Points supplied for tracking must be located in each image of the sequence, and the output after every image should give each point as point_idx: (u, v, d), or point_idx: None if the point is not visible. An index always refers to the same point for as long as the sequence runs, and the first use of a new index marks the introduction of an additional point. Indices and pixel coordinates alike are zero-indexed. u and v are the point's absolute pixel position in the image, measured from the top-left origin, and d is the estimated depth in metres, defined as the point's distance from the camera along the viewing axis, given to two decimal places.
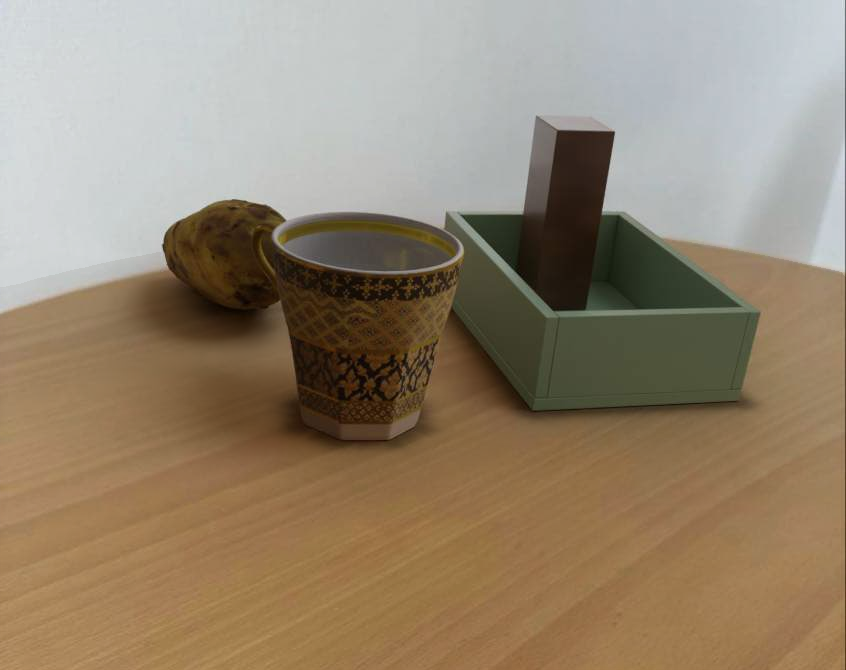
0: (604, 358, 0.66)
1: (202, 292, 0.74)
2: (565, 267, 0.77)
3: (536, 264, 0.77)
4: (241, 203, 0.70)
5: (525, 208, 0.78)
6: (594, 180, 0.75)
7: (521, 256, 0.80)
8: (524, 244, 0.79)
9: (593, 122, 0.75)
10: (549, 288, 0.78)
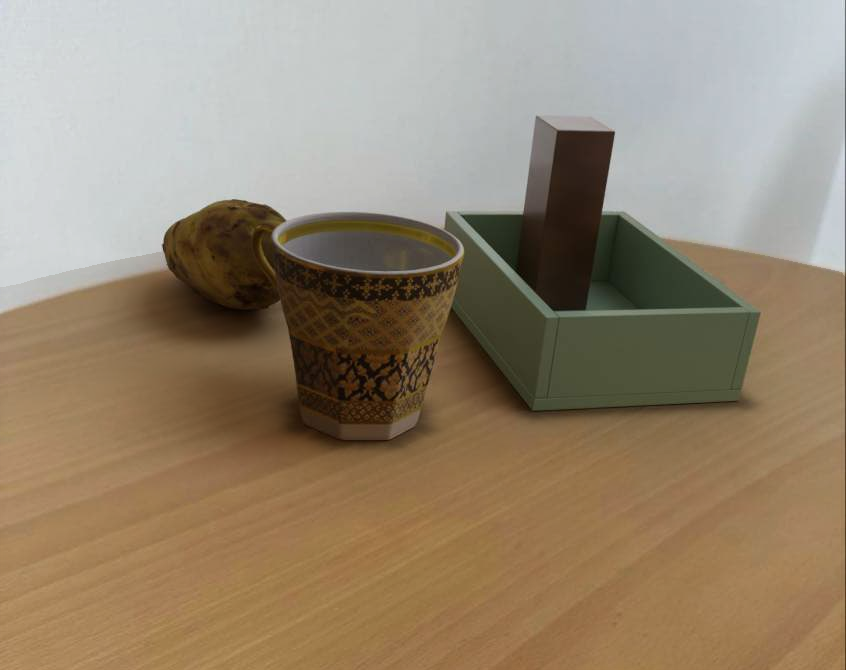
0: (604, 358, 0.66)
1: (202, 292, 0.74)
2: (565, 267, 0.77)
3: (536, 264, 0.77)
4: (241, 203, 0.70)
5: (525, 208, 0.78)
6: (594, 180, 0.75)
7: (521, 256, 0.80)
8: (524, 244, 0.79)
9: (593, 122, 0.75)
10: (549, 288, 0.78)
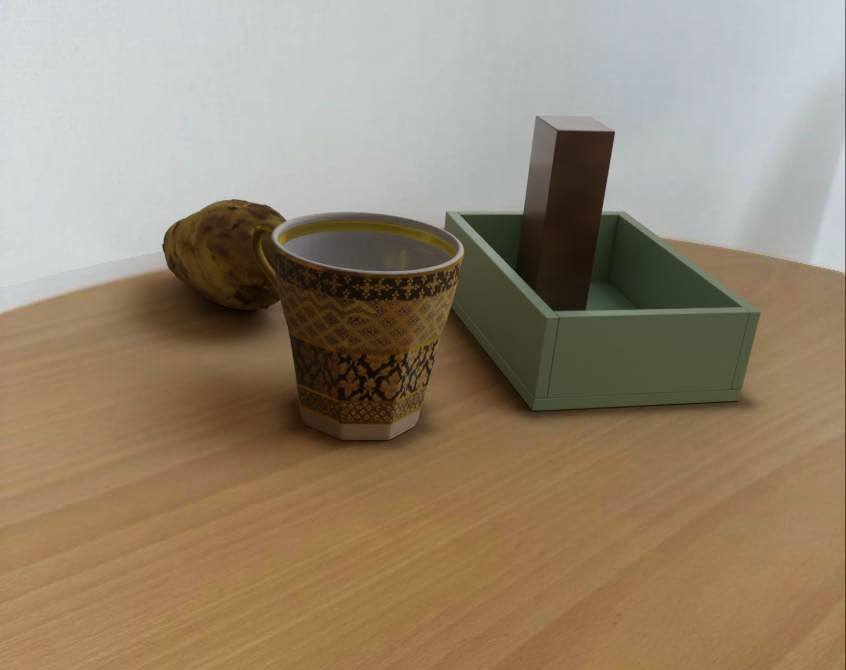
0: (604, 358, 0.66)
1: (202, 292, 0.74)
2: (565, 267, 0.77)
3: (536, 264, 0.77)
4: (241, 203, 0.70)
5: (525, 208, 0.78)
6: (594, 180, 0.75)
7: (521, 256, 0.80)
8: (524, 244, 0.79)
9: (593, 122, 0.75)
10: (549, 288, 0.78)
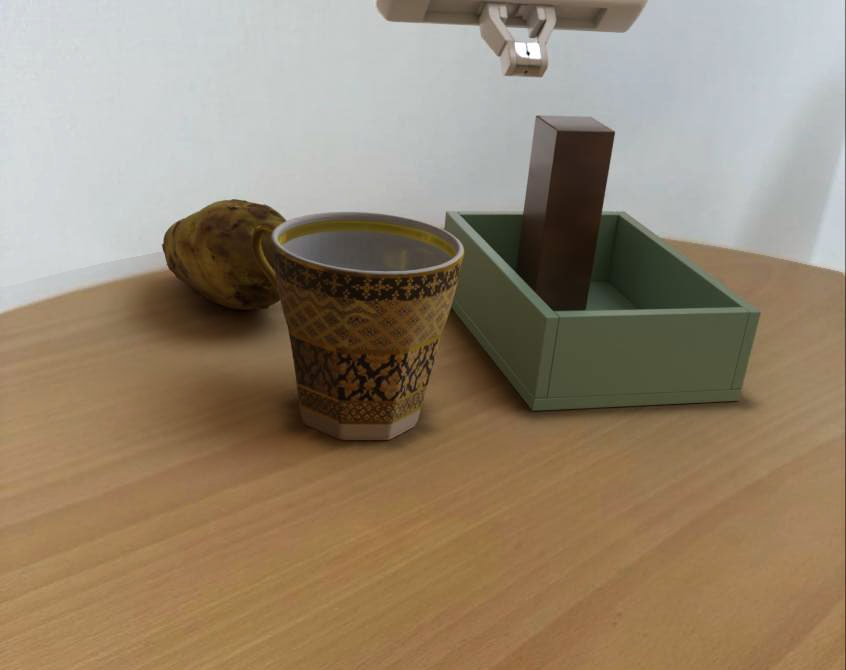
0: (604, 358, 0.66)
1: (202, 292, 0.74)
2: (565, 267, 0.77)
3: (536, 264, 0.77)
4: (241, 203, 0.70)
5: (525, 208, 0.78)
6: (594, 180, 0.75)
7: (521, 256, 0.80)
8: (524, 244, 0.79)
9: (593, 122, 0.75)
10: (549, 288, 0.78)
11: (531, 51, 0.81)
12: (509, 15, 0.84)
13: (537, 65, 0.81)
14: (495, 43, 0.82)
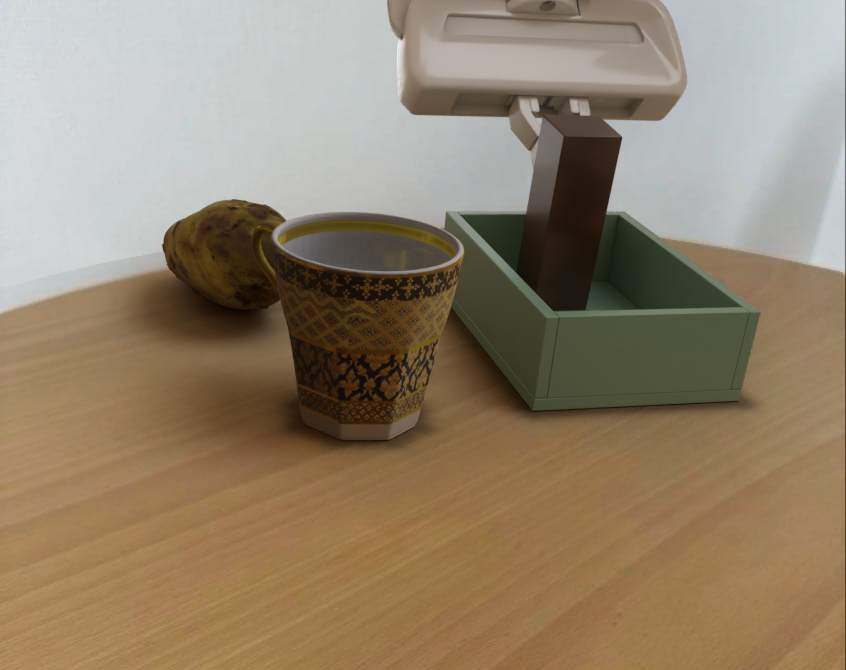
0: (604, 358, 0.66)
1: (202, 292, 0.74)
2: (566, 268, 0.77)
3: (537, 265, 0.77)
4: (241, 203, 0.70)
5: (529, 206, 0.78)
6: (599, 184, 0.74)
7: (523, 253, 0.79)
8: (526, 241, 0.79)
9: (600, 124, 0.74)
10: (550, 289, 0.78)
11: None
12: (540, 106, 0.80)
13: None
14: (526, 137, 0.78)
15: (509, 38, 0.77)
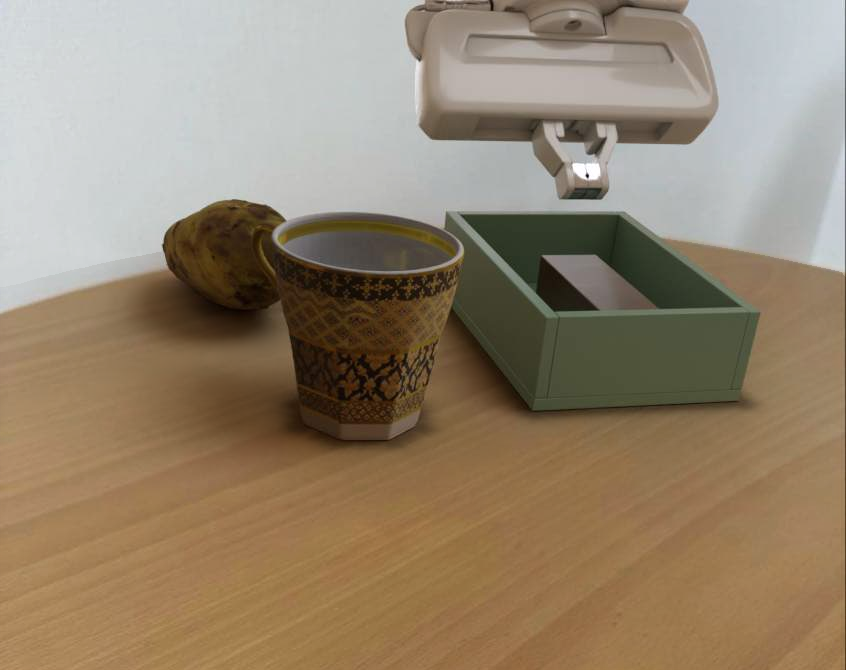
0: (604, 358, 0.66)
1: (202, 292, 0.74)
2: None
3: None
4: (241, 203, 0.70)
5: (573, 293, 0.72)
6: None
7: (553, 280, 0.75)
8: (558, 289, 0.74)
9: None
10: None
11: (591, 173, 0.73)
12: (564, 129, 0.76)
13: (597, 188, 0.74)
14: (550, 163, 0.74)
15: (533, 59, 0.73)
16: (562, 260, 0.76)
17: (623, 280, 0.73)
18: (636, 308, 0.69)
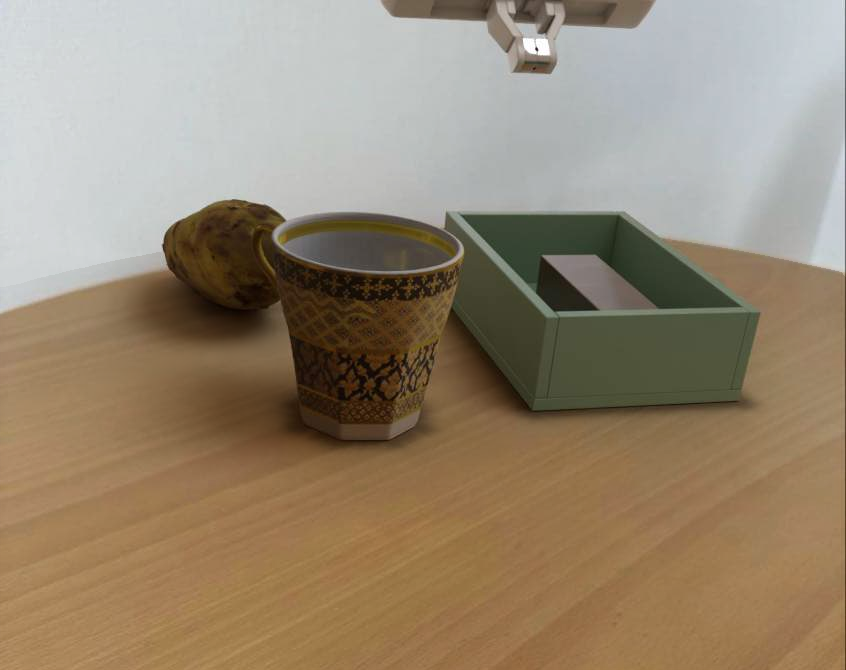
0: (604, 358, 0.66)
1: (202, 292, 0.74)
2: None
3: None
4: (241, 203, 0.70)
5: (573, 293, 0.72)
6: None
7: (553, 280, 0.75)
8: (558, 289, 0.74)
9: None
10: None
11: (540, 47, 0.79)
12: (517, 11, 0.82)
13: (546, 61, 0.80)
14: (503, 39, 0.80)
15: None
16: (562, 260, 0.76)
17: (623, 280, 0.73)
18: (636, 308, 0.69)
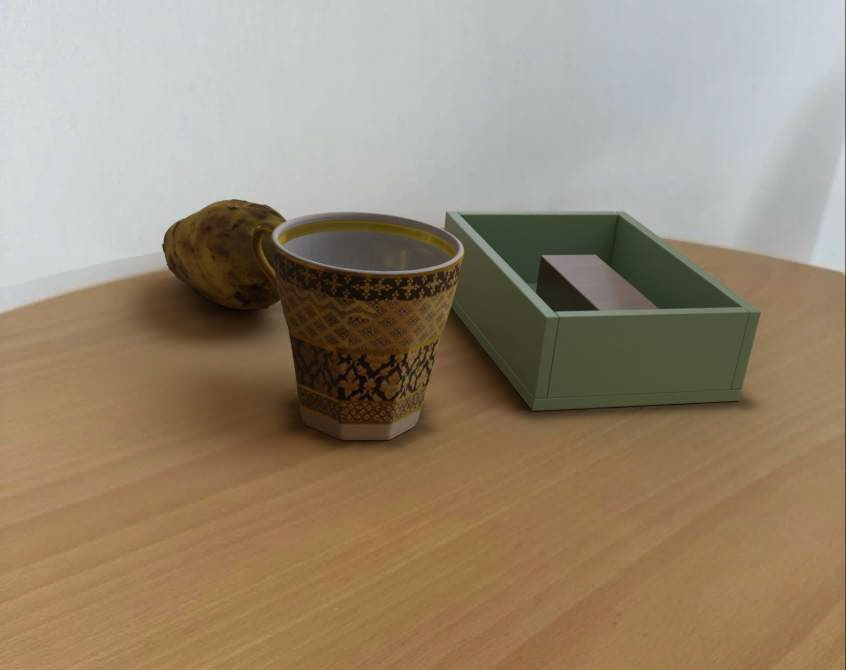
0: (604, 358, 0.66)
1: (202, 292, 0.74)
2: None
3: None
4: (241, 203, 0.70)
5: (573, 293, 0.72)
6: None
7: (553, 280, 0.75)
8: (558, 289, 0.74)
9: None
10: None
11: None
12: None
13: None
14: None
15: None
16: (562, 260, 0.76)
17: (623, 280, 0.73)
18: (636, 308, 0.69)
